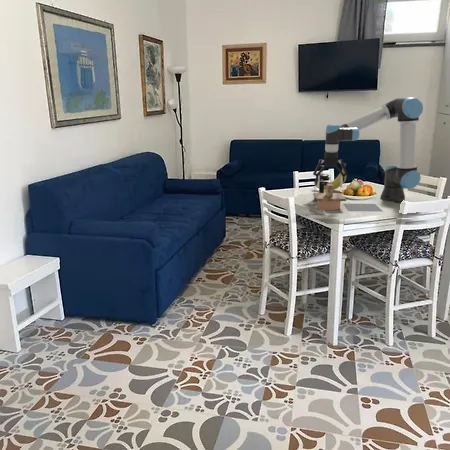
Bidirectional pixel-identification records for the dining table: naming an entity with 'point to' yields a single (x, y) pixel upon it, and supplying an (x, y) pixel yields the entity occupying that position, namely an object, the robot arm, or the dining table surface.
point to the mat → (362, 207)
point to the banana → (335, 181)
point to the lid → (329, 195)
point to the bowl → (328, 205)
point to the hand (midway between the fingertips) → (329, 187)
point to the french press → (322, 183)
